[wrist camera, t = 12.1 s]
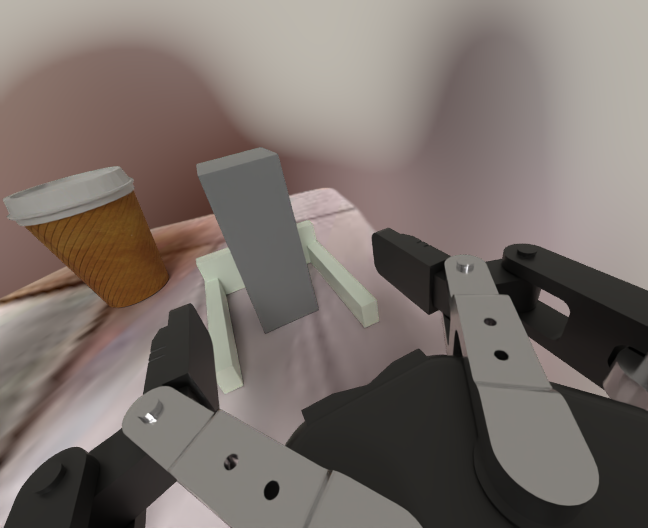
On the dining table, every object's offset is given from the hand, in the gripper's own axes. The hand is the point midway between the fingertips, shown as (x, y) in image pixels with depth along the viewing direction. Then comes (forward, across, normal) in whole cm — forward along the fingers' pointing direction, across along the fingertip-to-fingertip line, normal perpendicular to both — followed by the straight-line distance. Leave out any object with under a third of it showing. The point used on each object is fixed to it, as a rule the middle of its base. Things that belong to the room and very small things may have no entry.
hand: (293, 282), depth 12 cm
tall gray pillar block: (+9, 0, +8) cm, 12 cm away
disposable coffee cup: (+22, +13, +8) cm, 27 cm away
